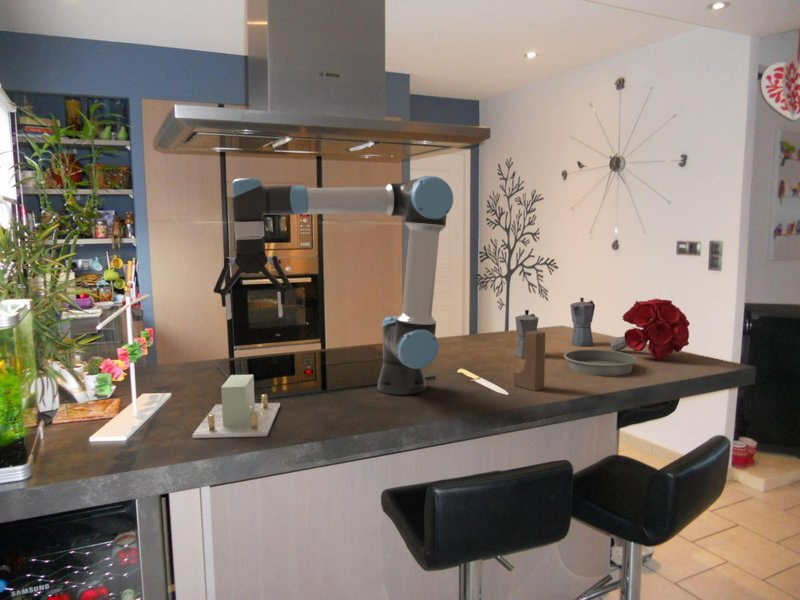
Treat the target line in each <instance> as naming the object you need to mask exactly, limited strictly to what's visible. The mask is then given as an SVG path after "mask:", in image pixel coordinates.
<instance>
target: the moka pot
mask: <svg viewBox="0 0 800 600" xmlns="http://www.w3.org/2000/svg"><path fill="white" fill-rule="evenodd" d="M579 299H580V301H579V302H572V303H571V304H570V306H569V307H570V312H571V320H572V325H573V329H572V337H571V345H572V346H576V347H591V346H594V338H593V334H592V333H593V332H592V327H591V326H592V323H593V319H594V313H595V308H596V305H595V302H594V301H593V300H592V299H591V300H589V301H584V299H585V298H584V297H580V298H579Z"/></svg>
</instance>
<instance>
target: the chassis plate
mask: <svg viewBox="0 0 800 600" xmlns="http://www.w3.org/2000/svg"><path fill="white" fill-rule="evenodd" d="M260 395H261V402H260V403H259V402H258V403H257V402H255V411H254V413H252V414H251V418H250V420H249V422H248V424H247V425H223V415H222V403H221V404H219V403H218V404H217V403H216V404H215V405H214V406H213V407H212V408H211V410H210V411H209V413H208V414H207V415H206V416H205V418H204V419H203V420H202V421H201V422H200V424H199V425H198V427H197V428H196V429H195V430H194V432H193V433H192V439H213V438H214V439H219V438H223V439H224V438H247V437H248V438H251V437H253V438H254V437H255V438H256V437H268V436H269V433H270V432H271V429H272V426H273V423H275V420H276V416H277V414H278V412H279V410H280V406H281V403H280V402H268V394H267V393H264V394H260Z"/></svg>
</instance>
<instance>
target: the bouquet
mask: <svg viewBox="0 0 800 600" xmlns="http://www.w3.org/2000/svg"><path fill="white" fill-rule="evenodd" d="M622 320H623V321H624V322H625V323H626V322H627V323H629V324H631V325H635V327H631V328H629V329H628V330H626V331H625V332H624V336H619V337H614V338H613V339H611V340H610V347H611V349H612V351H617V352H621V351H622V350H624V349H626V348H627V347H629V348H630V349H632V350H633V351H634V352H641V351H643V350H644V349H646V346H647V344H648V346H647V347H648V349H647V350H648V351H649V353H650V355H651V356H652V357H653V359H654V360H655V361H656V360H662V359H663V357H665V356H668V355H669V354H670V355H671V354H673V353H674V352H675V353H679V352H681V351H682V350H683V348H684V347H687V346H688V345H690V342H689V339H690V331H689V326H690V325H691V323H690V321H689V320H688V318H687V316H686V314H685V313H684V312H683V311H682V310H681V309H680V307H677V306H676V305H675V304H673V300H669V299H668V300H667V299H660V298H653V299H648V300H642V301H641V300H639V301H637V300H636V301H635V302H634V303H633V306H632V307H631V308H629V309H628V310H627V311H625V313H624V314H623V315H622Z"/></svg>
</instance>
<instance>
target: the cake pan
mask: <svg viewBox="0 0 800 600" xmlns="http://www.w3.org/2000/svg"><path fill="white" fill-rule="evenodd" d="M563 357H564V359H566V360H567V361H566V362H567V365H568V368H569V369H570V370H573V371H575V372H577V373H580V374H581V373H582V374H585V375H593V376H604V377H605V376H607V377H609V376H611V377H612V376H623V375H627V374H630V373H631V372H632V371H633V367H634V364H635V363H636V362H637V361H638V358H637V357H636V356H635V355H632V354H629V353H625V352H621V351H618V352H617V351H614V350H608V349H595V348H594V349H590V348H589V349H587V348H586V349H576V350H571V351H567V352H566V353H564V354H563Z"/></svg>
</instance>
